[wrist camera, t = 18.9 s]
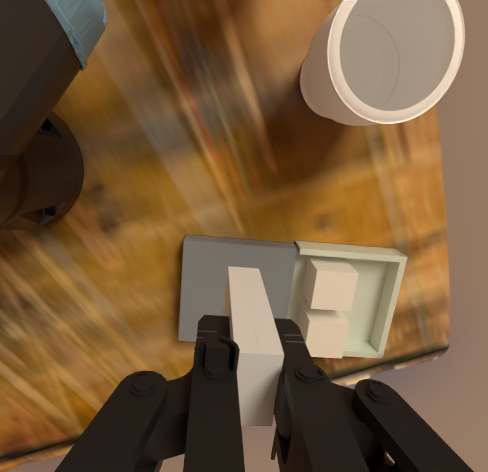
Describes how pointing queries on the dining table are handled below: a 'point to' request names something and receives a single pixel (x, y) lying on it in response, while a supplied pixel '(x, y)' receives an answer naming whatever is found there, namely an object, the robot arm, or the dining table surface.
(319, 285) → the block
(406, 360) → the dining table surface
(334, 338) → the block
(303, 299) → the tray
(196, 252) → the board
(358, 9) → the jar
